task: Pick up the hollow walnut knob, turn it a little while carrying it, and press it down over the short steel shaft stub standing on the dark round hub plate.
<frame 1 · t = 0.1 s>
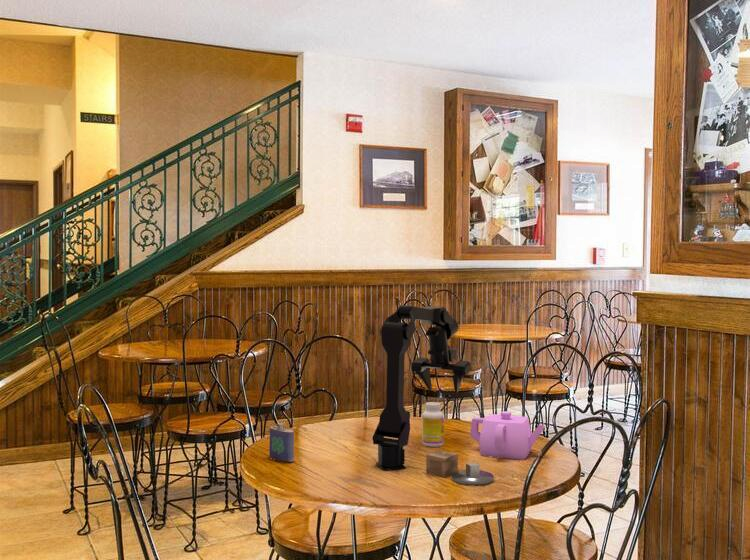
hand: (443, 391, 231), 15 cm above the table, tool pointing down, fingers open, 9 cm apart
supplement bottle: (432, 445, 226), on the table
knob: (442, 472, 196), on the table
flask: (281, 460, 209), on the table
hub: (472, 479, 190), on the table
teakettle: (507, 453, 216), on the table
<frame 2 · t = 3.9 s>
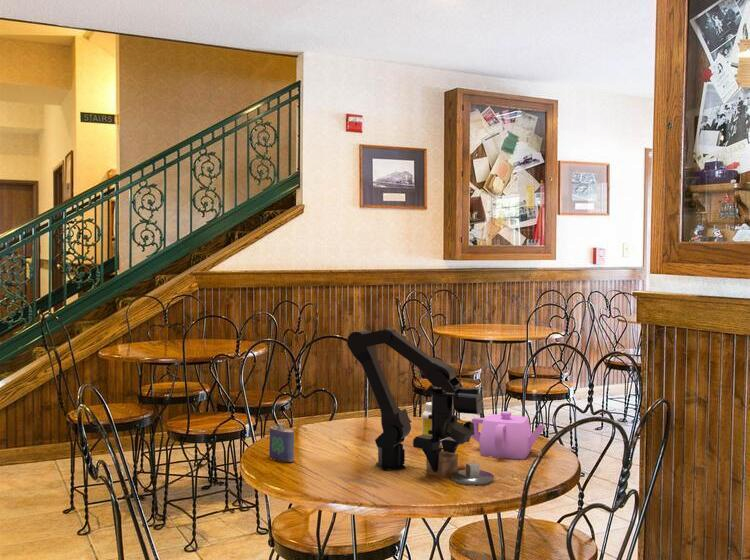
hand: (442, 469, 196), 1 cm above the table, tool pointing down, fingers closed on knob, 6 cm apart
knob: (442, 472, 196), on the table, touching gripper
everything else where it was.
when the fingers open (2 cm above the table, at t = 8.0 s): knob stays where it is, resting on hub.
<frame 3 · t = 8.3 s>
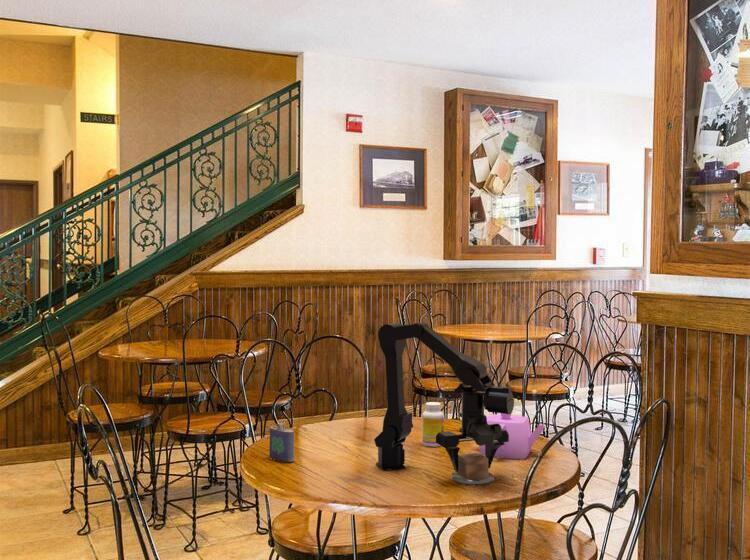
hand: (472, 469, 190), 2 cm above the table, tool pointing down, fingers open, 9 cm apart
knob: (472, 475, 190), point 1 cm above the table, touching hub
everything else where it was.
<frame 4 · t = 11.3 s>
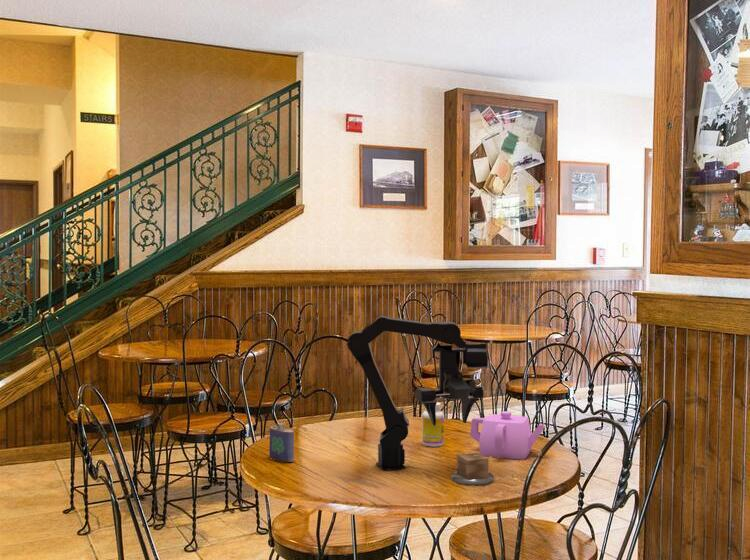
hand: (449, 424, 201), 12 cm above the table, tool pointing down, fingers open, 9 cm apart
nothing on the table moved.
at the end: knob 0.0 cm off-centre on the hub, point 1.0 cm above the hub's base; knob tilted 0°; the gripper is holding nothing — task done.
